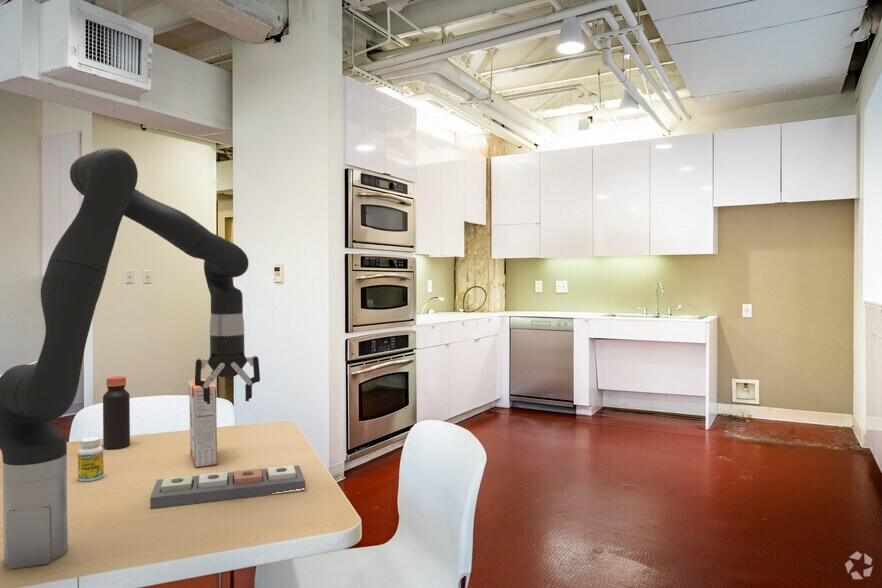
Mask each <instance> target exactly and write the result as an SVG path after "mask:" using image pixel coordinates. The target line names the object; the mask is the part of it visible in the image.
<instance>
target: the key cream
mask: <svg viewBox="0 0 882 588" xmlns="http://www.w3.org/2000/svg"><path fill="white" fill-rule="evenodd" d="M294 466H295V465H294V464H292V465H283V466H273V467H272V466H271V467H267V468H266V469H267V476H268V481H272V480H281V479H290V478H296V472H295V469H294Z"/></svg>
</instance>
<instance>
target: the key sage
mask: <svg viewBox="0 0 882 588" xmlns="http://www.w3.org/2000/svg"><path fill="white" fill-rule="evenodd" d="M193 476H194V475H184V476H182V475H181V476H174V477H173V476H172V477H164V478H162V479H163V482H162V485H161V492H170V491H179V490H188V489H192V484H193Z"/></svg>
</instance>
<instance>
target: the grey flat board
mask: <svg viewBox="0 0 882 588" xmlns="http://www.w3.org/2000/svg"><path fill="white" fill-rule="evenodd" d="M293 466H294V469H295V472H296V478H290V479H281V480H272V481H268V476H267V468H260V469H261V473H262V482H253V483H244V484H235V485H234V471H230V472H229V471H228V472H227V485H225V486H216V487H207V488H198V482H199V475H193V484H192V489H188V490H179V491H170V492H161V485H162V482H163V479H164V478H160V479H156V481H155V483H154V486H153V489H152V492H151V495H150V497H149V498H150V500H149V502H150V503H149V504H150V509H159V508H165V507H166V508H167V507H177V506H184V505H185V506H186V505H193V504H200V503H201V504H202V503H211V502H218V501H228V499H229V500H235V499H236V498H238V499H244V498H243V497H246V498H255V497H260V496H259V495H264V496H267V495H266V494H272V493H276V492H283V491H289V490H296V489H302V488H305V489H306V480H305V476H304V474H303V471H302V469H301V467H300V465H299V464H298V465H293ZM272 495H273V494H272ZM254 496H255V497H254Z"/></svg>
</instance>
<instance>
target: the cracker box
mask: <svg viewBox="0 0 882 588" xmlns="http://www.w3.org/2000/svg"><path fill="white" fill-rule="evenodd" d="M206 379H207V378H201V380H203V381H205V380H206ZM209 387H210V404H207V402H204V400H203V388H202V387H201V386H196V385H195V378H194V379H189V380H188V394H189V395H188V396H189V397H188V398H189V399H188V400H189V403H188V404H189V406H188V407H189V442H190V443H189V448H190V456H191V459H192V463H193V466H194V469H196V468H204V467H211V466H217V465H218V430H217V429H218V428H217V427H218V424H217V423H218V422H217V421H218V420H217V414H218V413H217V386H216V385H215V384H214V381H213V382H212V383H211V384H210V386H209Z"/></svg>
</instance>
